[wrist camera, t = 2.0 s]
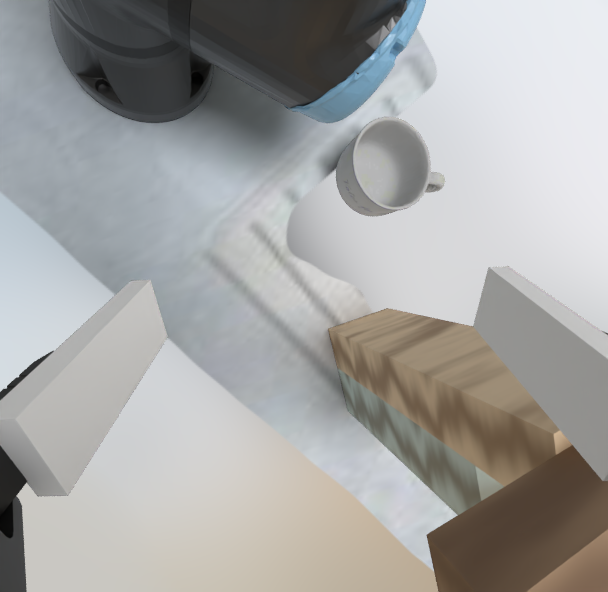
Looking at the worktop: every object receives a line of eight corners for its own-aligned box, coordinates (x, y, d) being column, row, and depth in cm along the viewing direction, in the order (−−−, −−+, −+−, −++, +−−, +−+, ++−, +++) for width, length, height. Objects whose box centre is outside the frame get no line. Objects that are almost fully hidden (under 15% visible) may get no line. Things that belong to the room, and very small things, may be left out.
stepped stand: (328, 328, 45) (553, 433, 17) (387, 308, 48) (666, 367, 19) (347, 410, 47) (577, 628, 19) (403, 386, 50) (675, 543, 22)
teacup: (316, 201, 43) (342, 187, 35) (341, 126, 43) (372, 96, 35) (398, 239, 47) (436, 233, 40) (420, 170, 48) (462, 152, 40)
